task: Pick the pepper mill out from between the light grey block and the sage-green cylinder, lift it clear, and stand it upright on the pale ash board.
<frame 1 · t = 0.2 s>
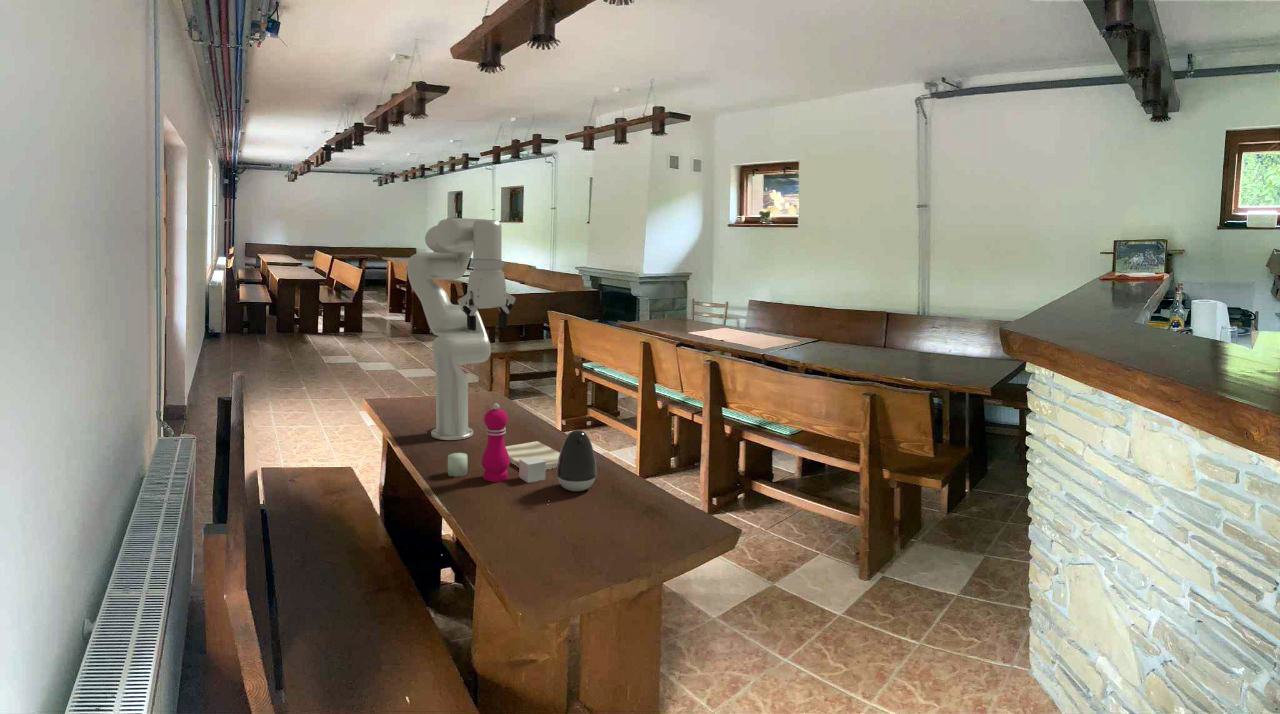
hand: (487, 328, 202), 37 cm above the table, tool pointing down, fingers open, 9 cm apart
sage cylinder: (457, 474, 194), on the table
ash board: (533, 458, 209), on the table
pepper mill: (495, 478, 192), on the table
grey block: (532, 478, 193), on the table
dark grey egg shape: (576, 488, 188), on the table
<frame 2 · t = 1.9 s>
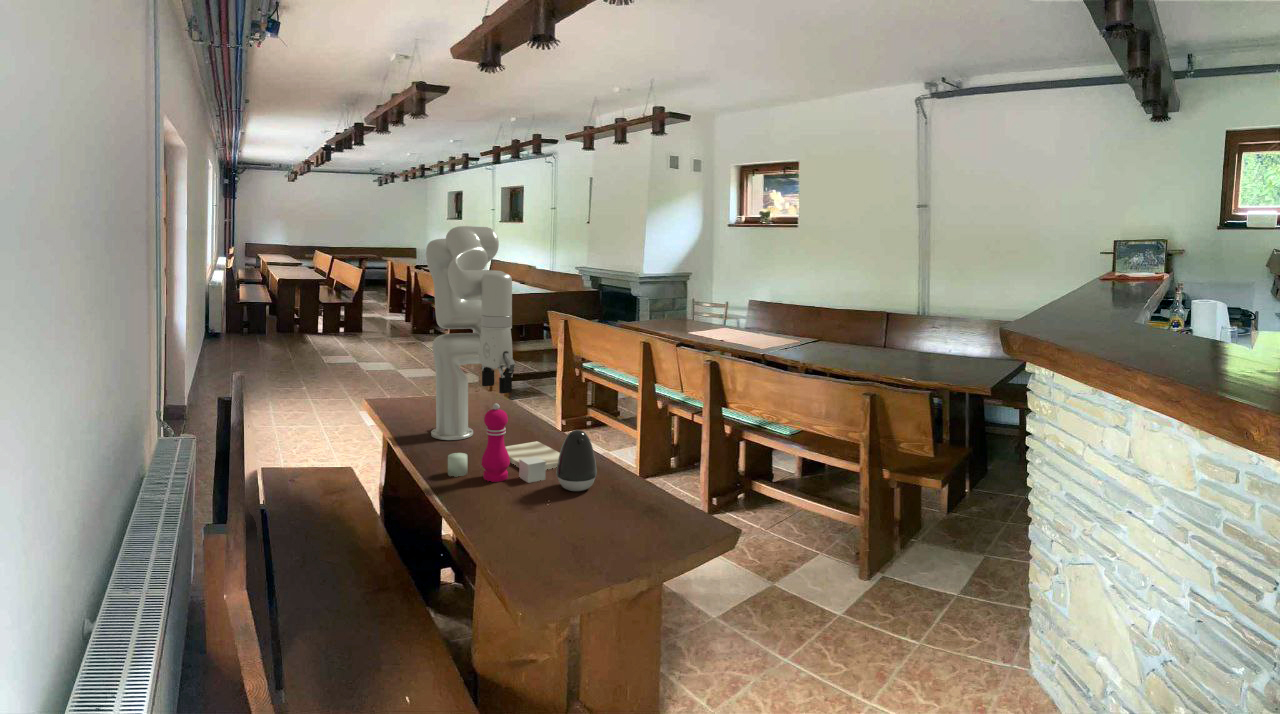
hand: (496, 389, 188), 24 cm above the table, tool pointing down, fingers open, 9 cm apart
nothing on the table moved.
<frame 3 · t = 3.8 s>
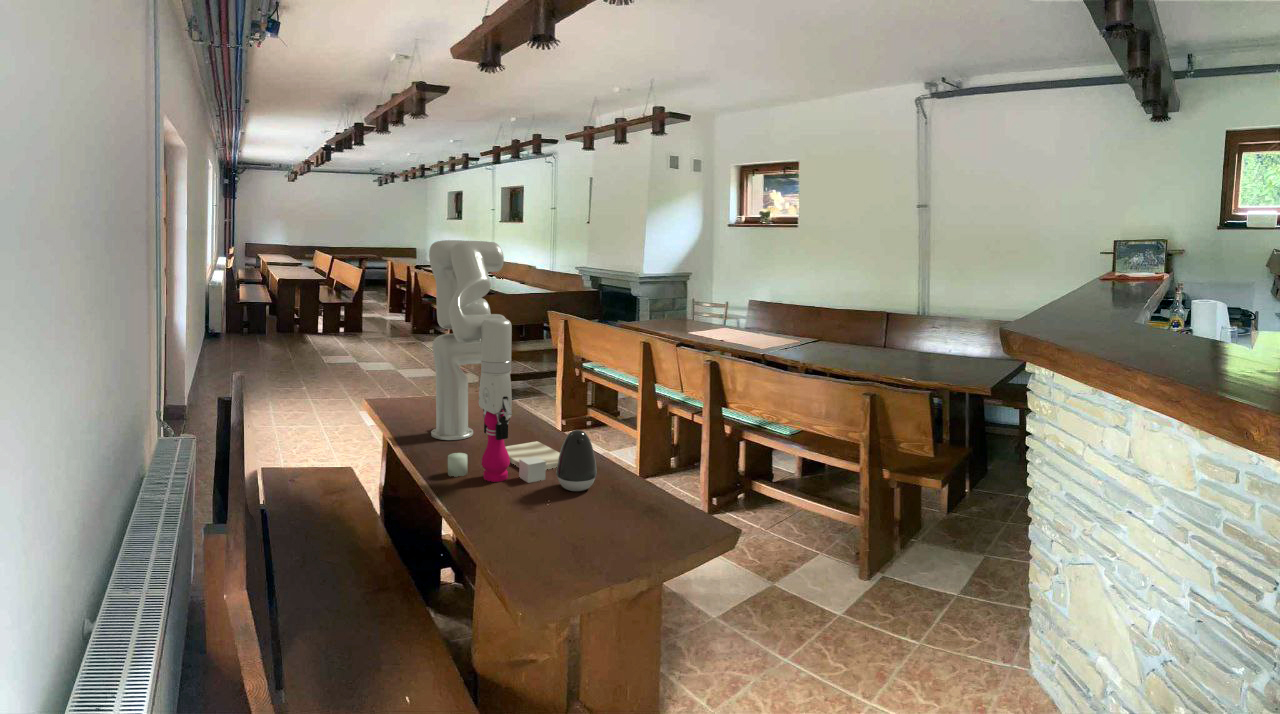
hand: (495, 435, 190), 12 cm above the table, tool pointing down, fingers closed on pepper mill, 5 cm apart
pepper mill: (495, 478, 192), on the table, touching gripper
everything else where it was.
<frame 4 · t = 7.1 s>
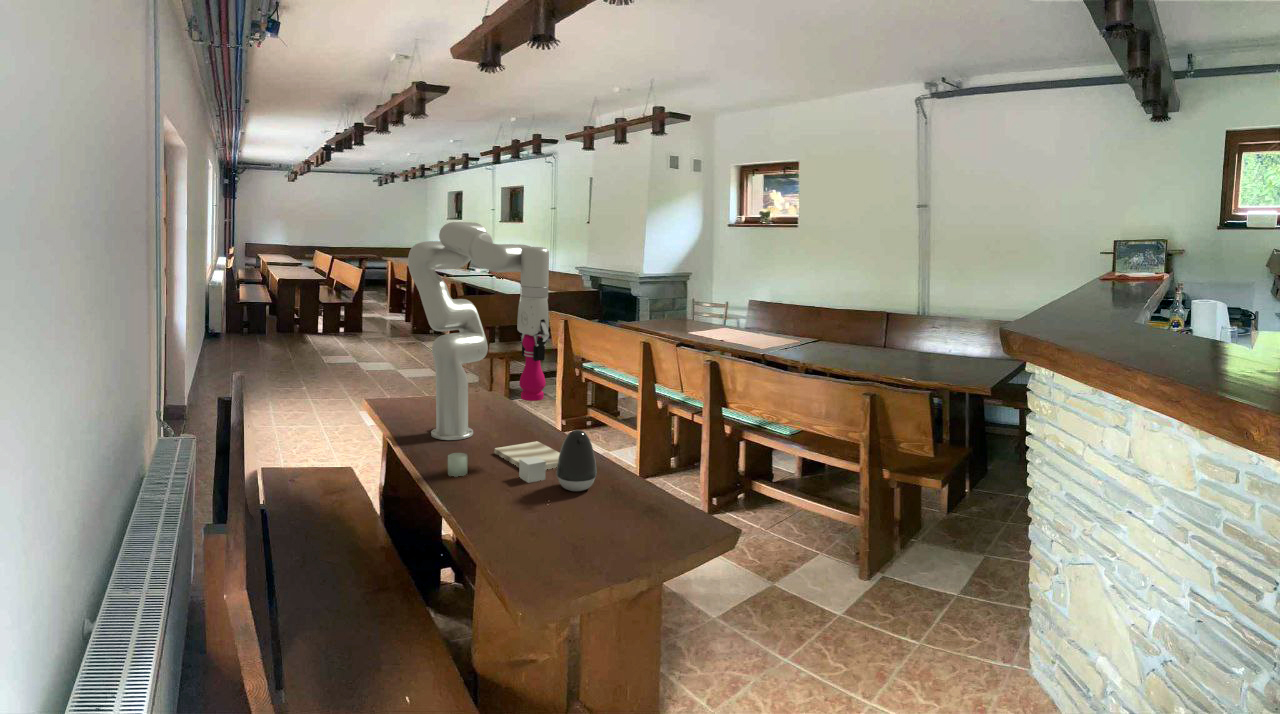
hand: (533, 357, 203), 29 cm above the table, tool pointing down, fingers closed on pepper mill, 5 cm apart
pepper mill: (532, 399, 206), point 17 cm above the table, touching gripper
everything else where it was.
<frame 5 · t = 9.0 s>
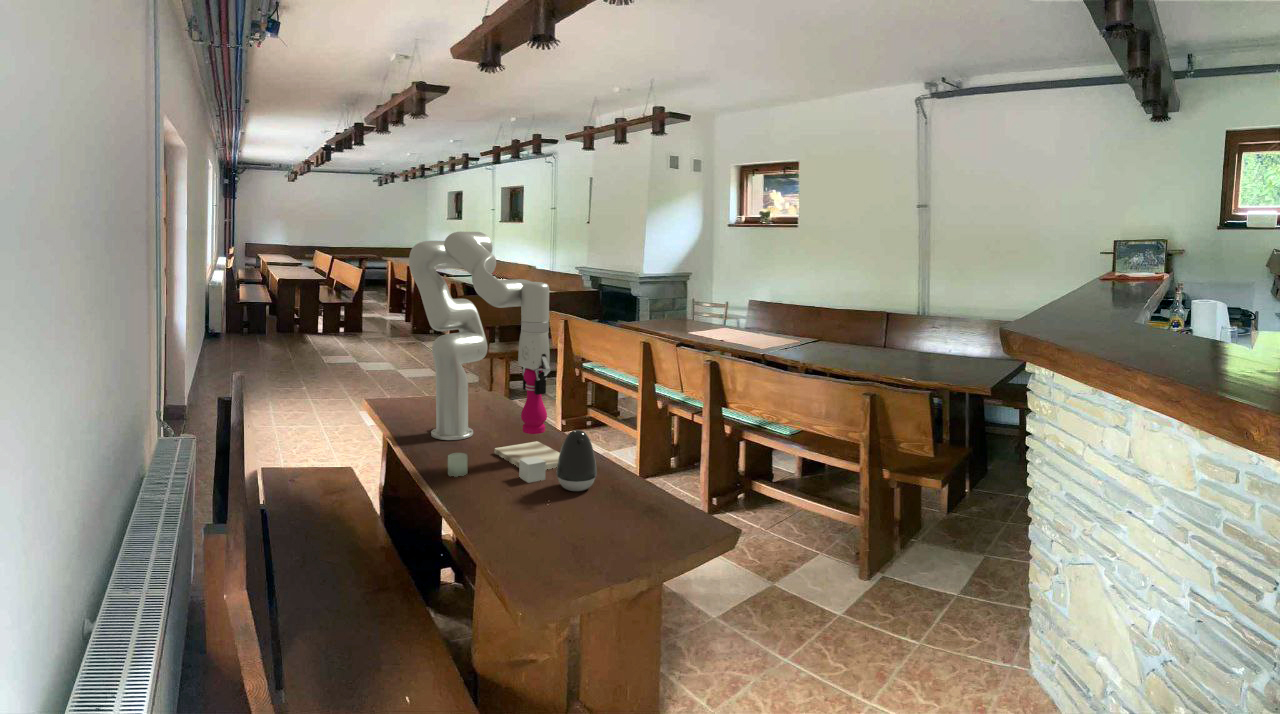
hand: (534, 391, 205), 20 cm above the table, tool pointing down, fingers closed on pepper mill, 5 cm apart
pepper mill: (533, 431, 208), point 8 cm above the table, touching gripper
everything else where it was.
when the fingers open (14 cm above the table, at t = 10.5 s): pepper mill drops 1 cm, resting on ash board.
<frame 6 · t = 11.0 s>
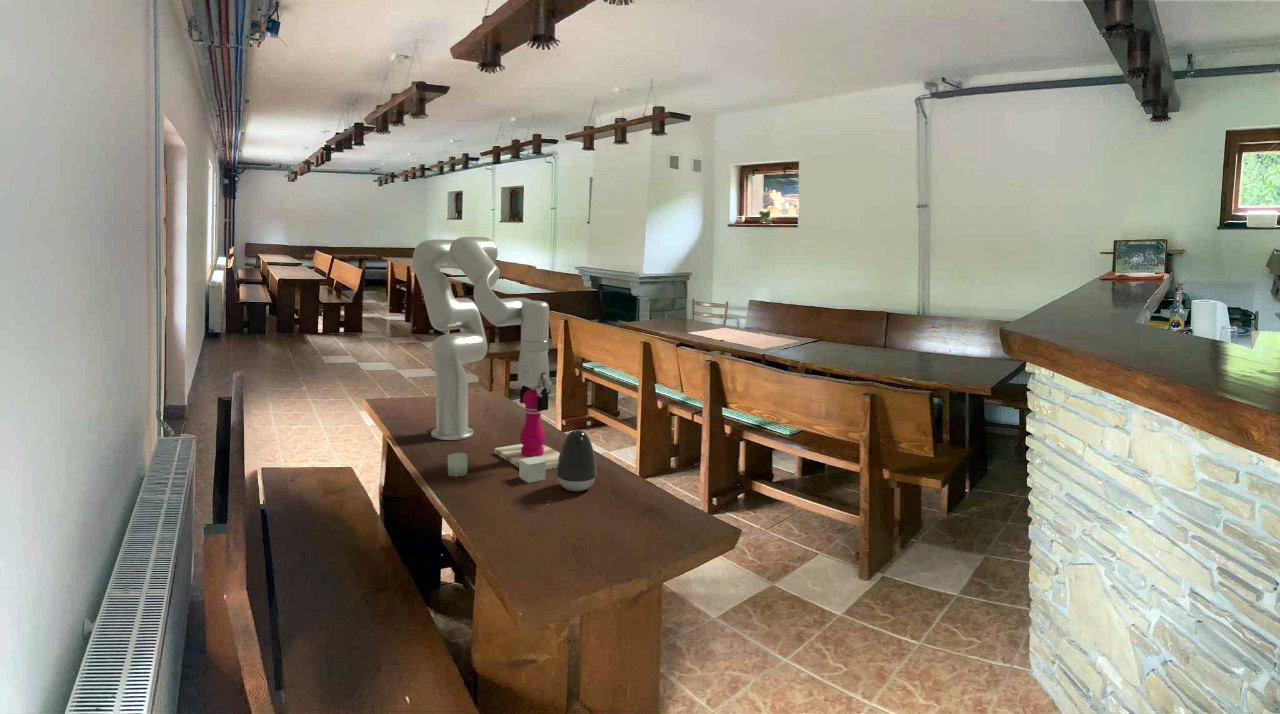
hand: (533, 406, 206), 15 cm above the table, tool pointing down, fingers open, 9 cm apart
pepper mill: (532, 454, 209), point 1 cm above the table, touching ash board
everything else where it was.
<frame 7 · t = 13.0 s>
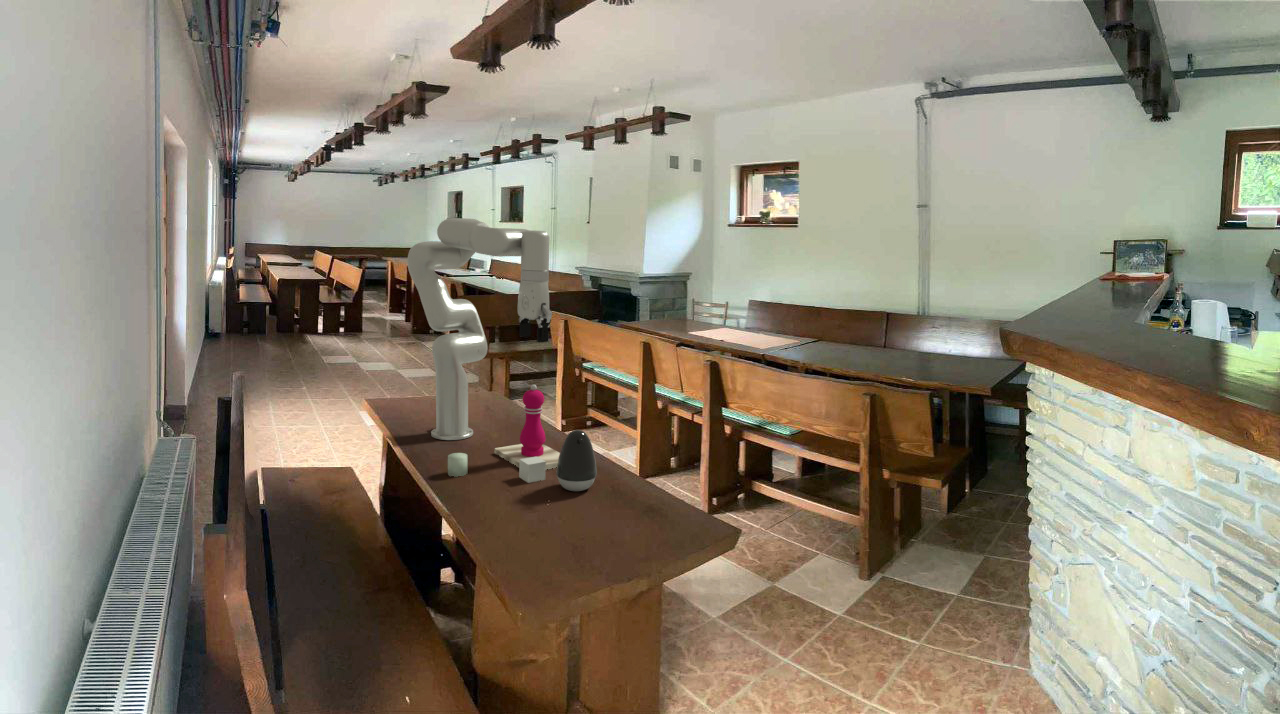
hand: (533, 339, 203), 34 cm above the table, tool pointing down, fingers open, 9 cm apart
nothing on the table moved.
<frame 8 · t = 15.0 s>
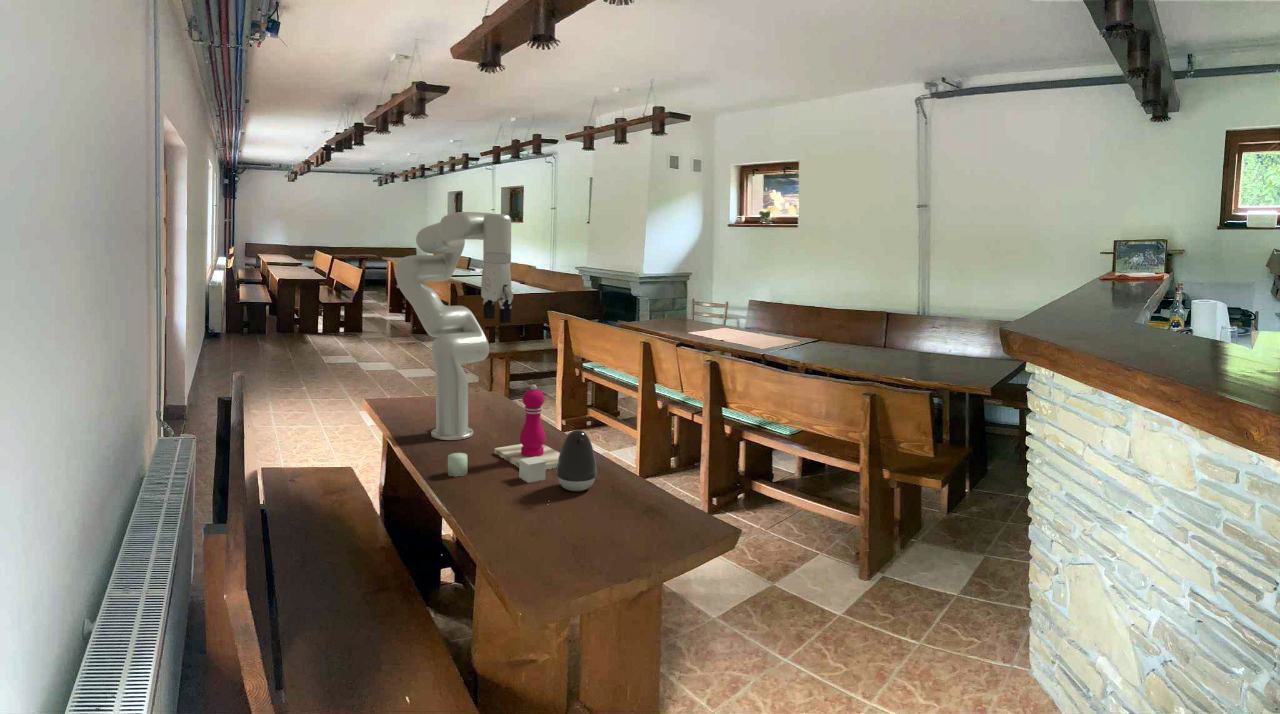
hand: (496, 320, 207), 38 cm above the table, tool pointing down, fingers open, 9 cm apart
nothing on the table moved.
at the end: pepper mill inside the target area on the ash board (0.2 cm from its centre), point 1.3 cm above the ash board's base; pepper mill tilted 0°; grey block moved 0.1 cm from its start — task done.
